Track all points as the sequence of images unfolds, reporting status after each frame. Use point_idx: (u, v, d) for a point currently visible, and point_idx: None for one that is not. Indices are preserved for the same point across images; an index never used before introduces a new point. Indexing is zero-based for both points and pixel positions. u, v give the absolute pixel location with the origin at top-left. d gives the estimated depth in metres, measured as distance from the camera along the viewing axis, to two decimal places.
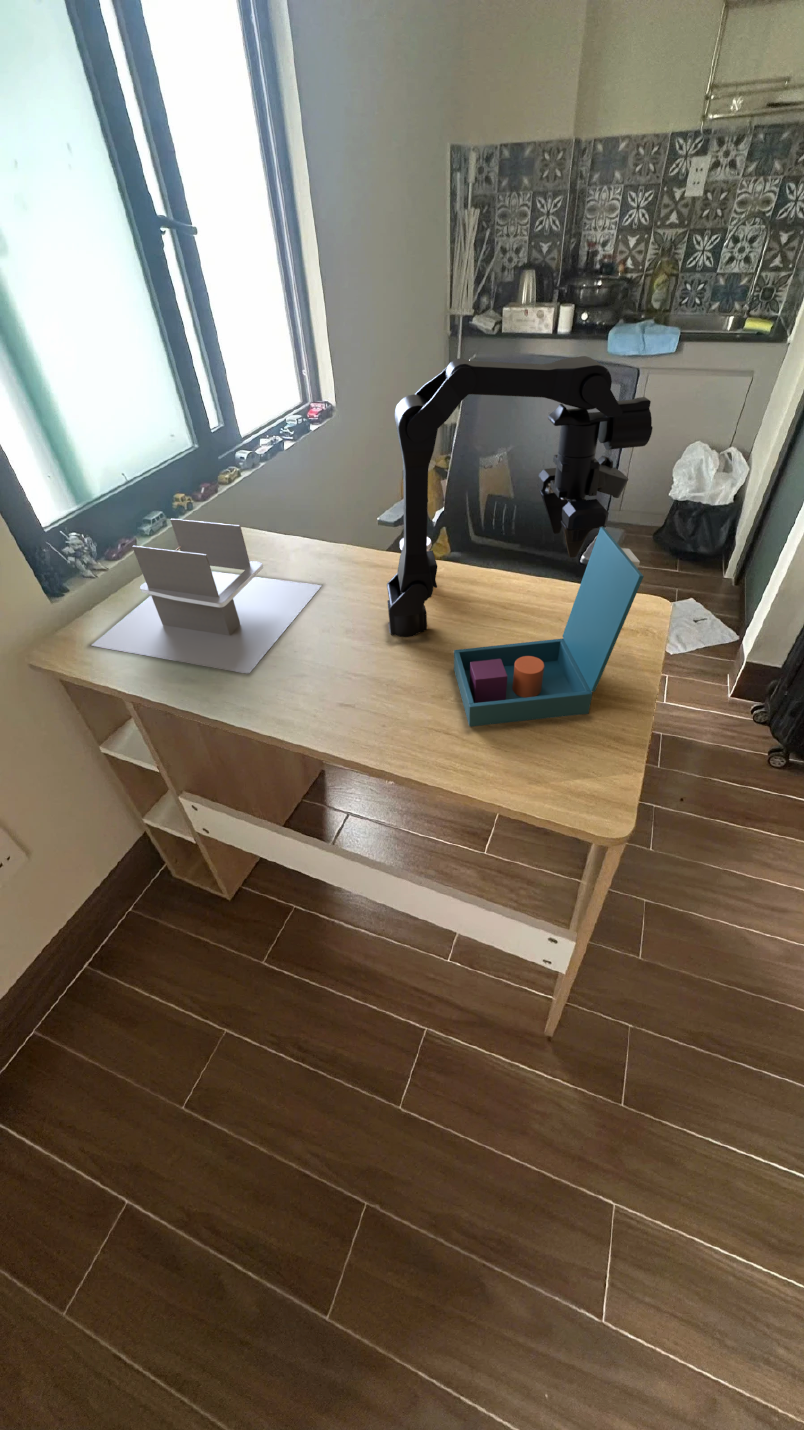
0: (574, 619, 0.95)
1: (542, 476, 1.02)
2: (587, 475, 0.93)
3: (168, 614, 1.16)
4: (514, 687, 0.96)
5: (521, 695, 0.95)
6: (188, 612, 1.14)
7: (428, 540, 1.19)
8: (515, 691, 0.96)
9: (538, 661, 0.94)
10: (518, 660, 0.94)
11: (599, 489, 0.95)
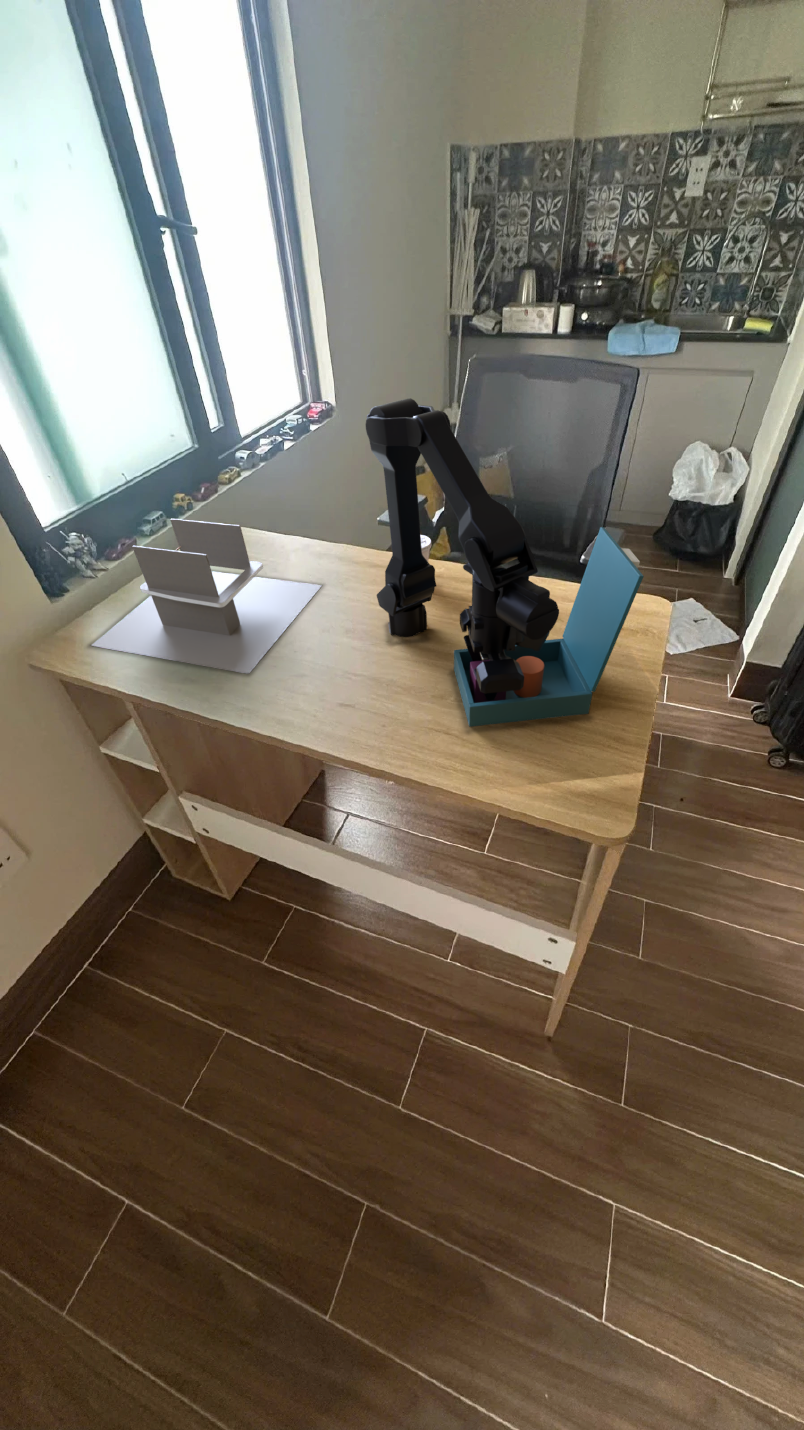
0: (574, 619, 0.95)
1: (463, 617, 0.95)
2: (503, 631, 0.86)
3: (168, 614, 1.16)
4: None
5: (521, 695, 0.95)
6: (188, 612, 1.14)
7: (428, 540, 1.19)
8: (515, 691, 0.96)
9: (538, 661, 0.94)
10: (518, 660, 0.94)
11: (518, 643, 0.88)
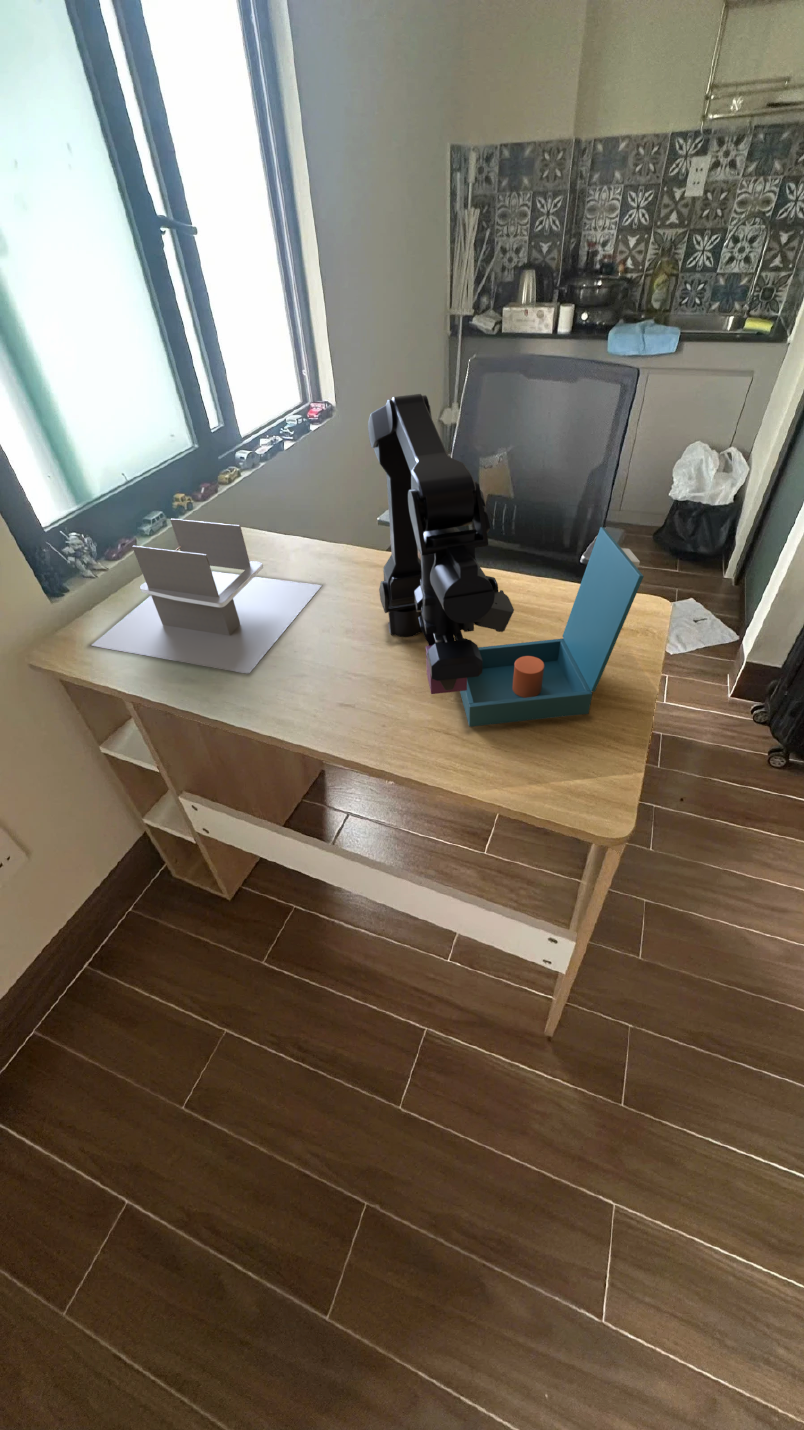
0: (574, 619, 0.95)
1: (417, 595, 0.82)
2: None
3: (168, 614, 1.16)
4: (514, 687, 0.96)
5: (521, 695, 0.95)
6: (188, 612, 1.14)
7: None
8: (515, 691, 0.96)
9: (538, 661, 0.94)
10: (518, 660, 0.94)
11: (477, 623, 0.75)
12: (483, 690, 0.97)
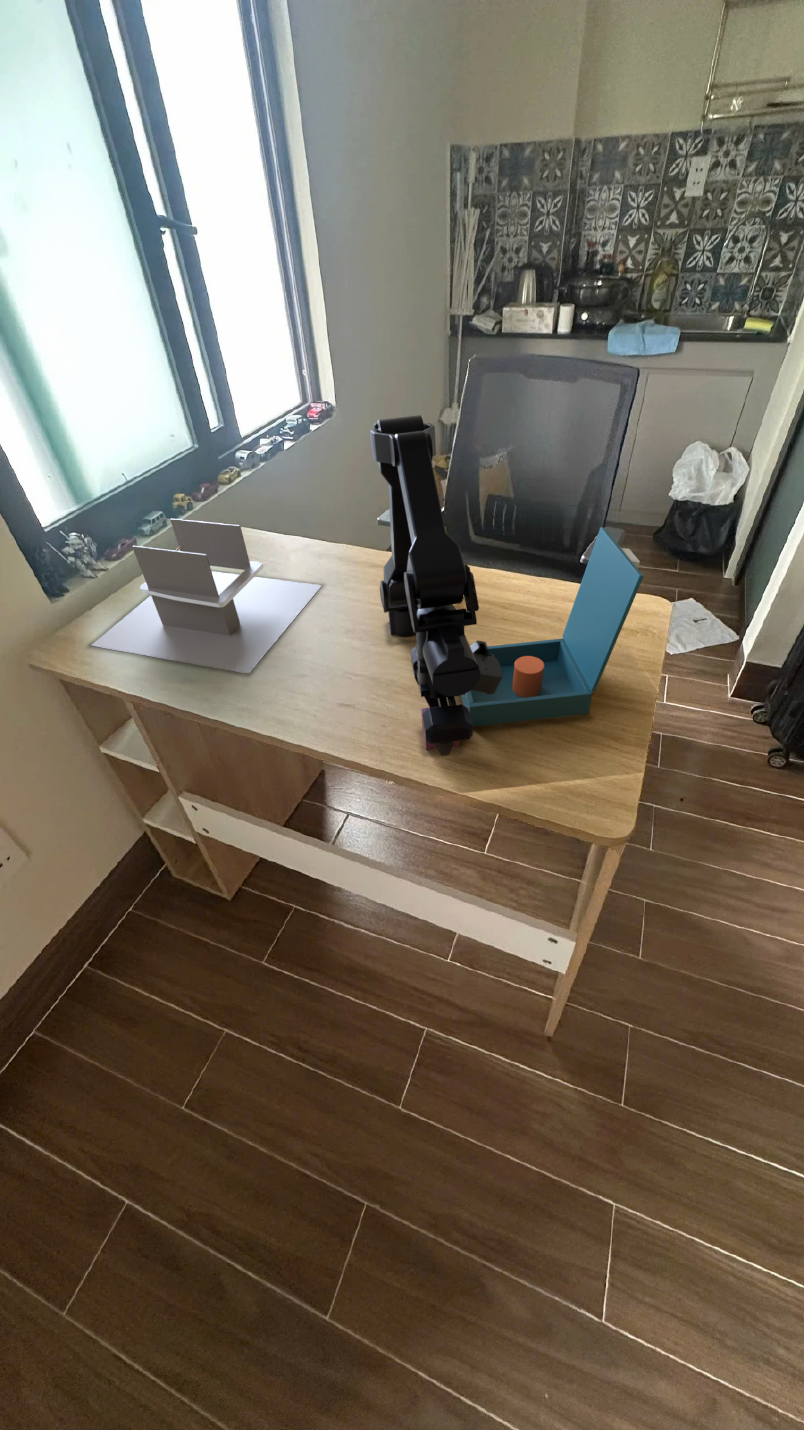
0: (574, 619, 0.95)
1: (413, 655, 0.88)
2: None
3: (168, 614, 1.16)
4: (514, 687, 0.96)
5: (521, 695, 0.95)
6: (188, 612, 1.14)
7: None
8: (515, 691, 0.96)
9: (538, 661, 0.94)
10: (518, 660, 0.94)
11: None
12: None
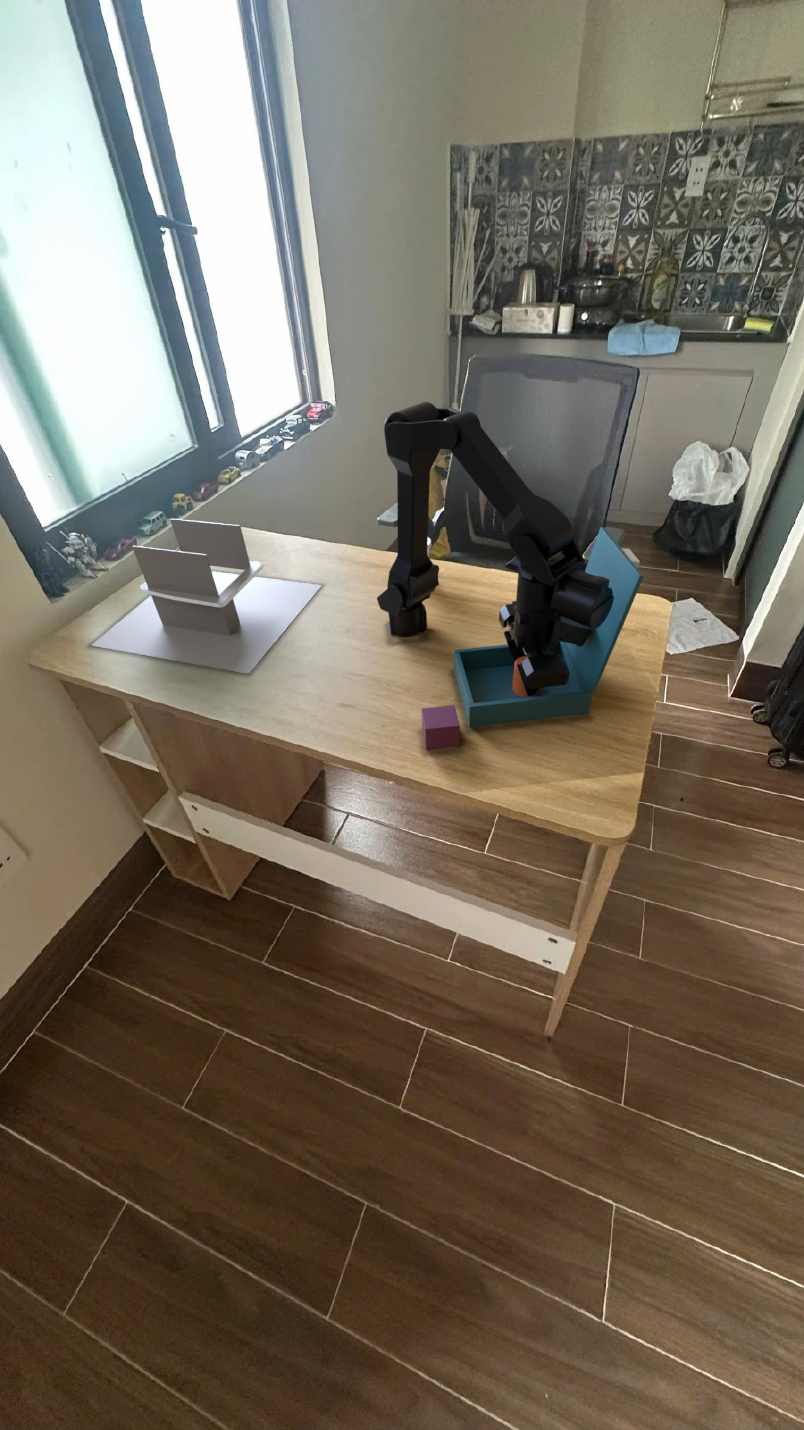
0: None
1: (503, 613, 0.95)
2: (548, 627, 0.86)
3: (168, 614, 1.16)
4: (514, 687, 0.96)
5: (521, 695, 0.95)
6: (188, 612, 1.14)
7: (428, 540, 1.19)
8: (515, 691, 0.96)
9: None
10: (518, 660, 0.94)
11: (561, 639, 0.88)
12: (483, 690, 0.97)
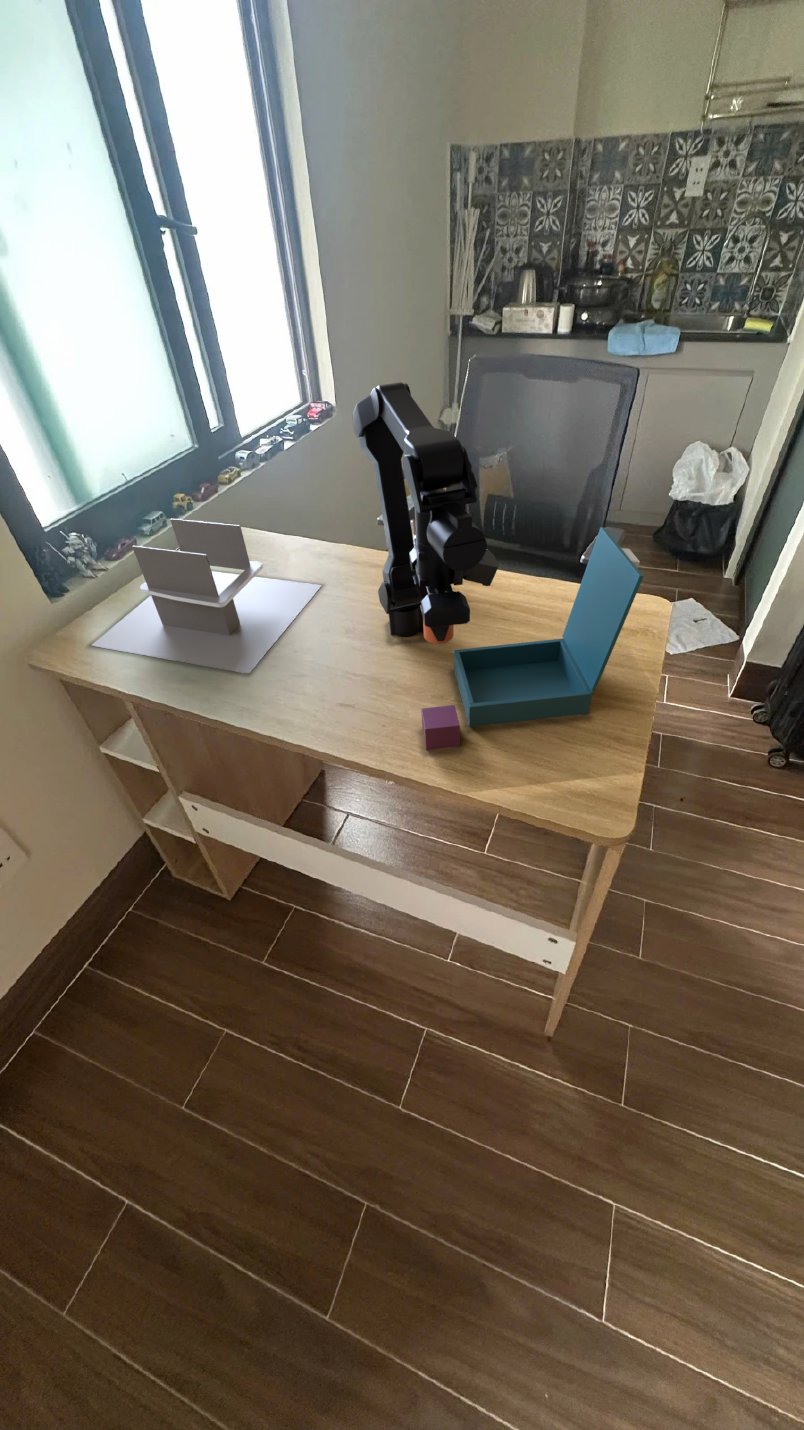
0: (574, 619, 0.95)
1: (412, 555, 0.91)
2: None
3: (168, 614, 1.16)
4: (424, 633, 0.91)
5: (431, 641, 0.91)
6: (188, 612, 1.14)
7: None
8: (425, 637, 0.91)
9: None
10: None
11: (466, 577, 0.84)
12: (483, 690, 0.97)
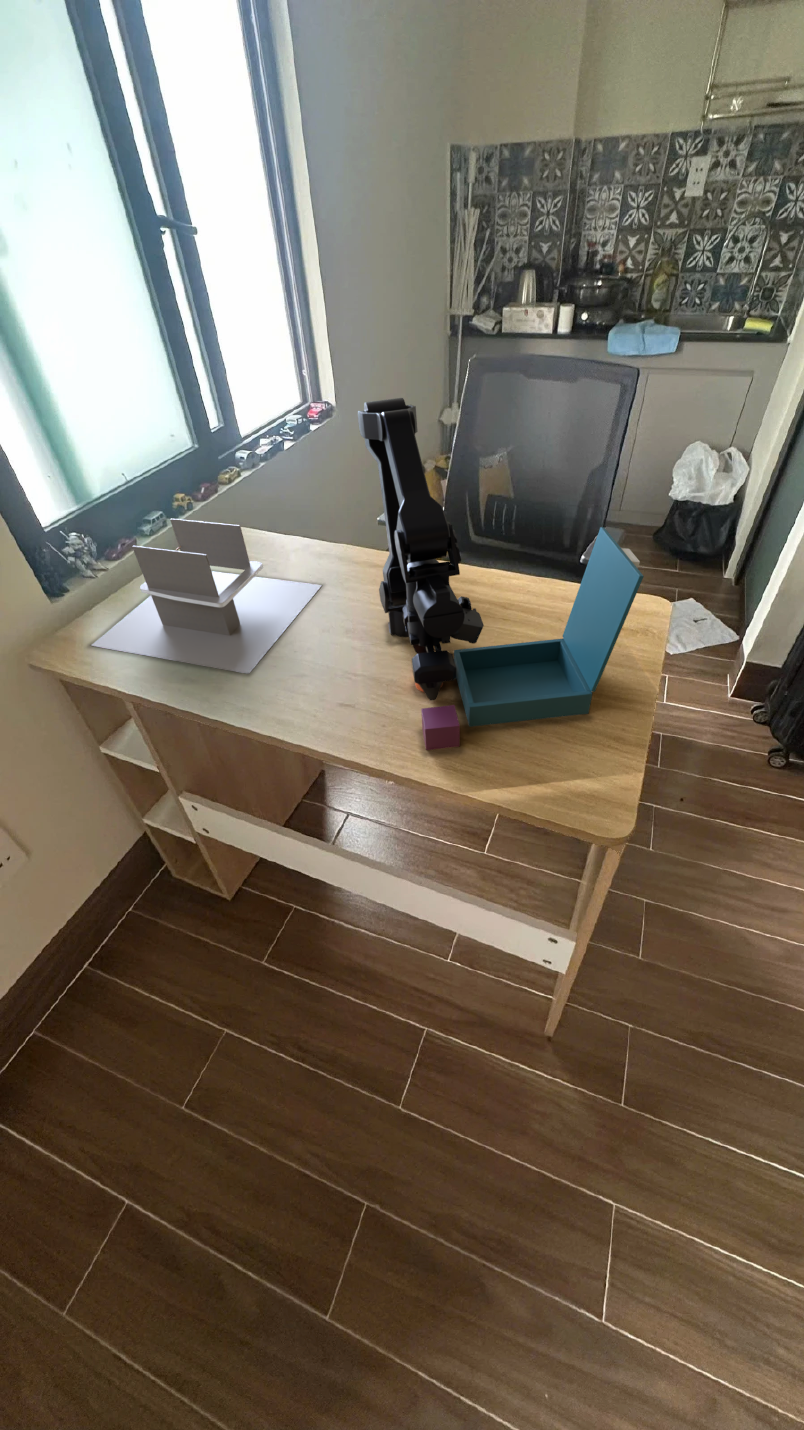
0: (574, 619, 0.95)
1: (404, 611, 0.98)
2: None
3: (168, 614, 1.16)
4: (416, 685, 0.99)
5: None
6: (188, 612, 1.14)
7: None
8: None
9: None
10: None
11: (453, 636, 0.90)
12: (483, 690, 0.97)
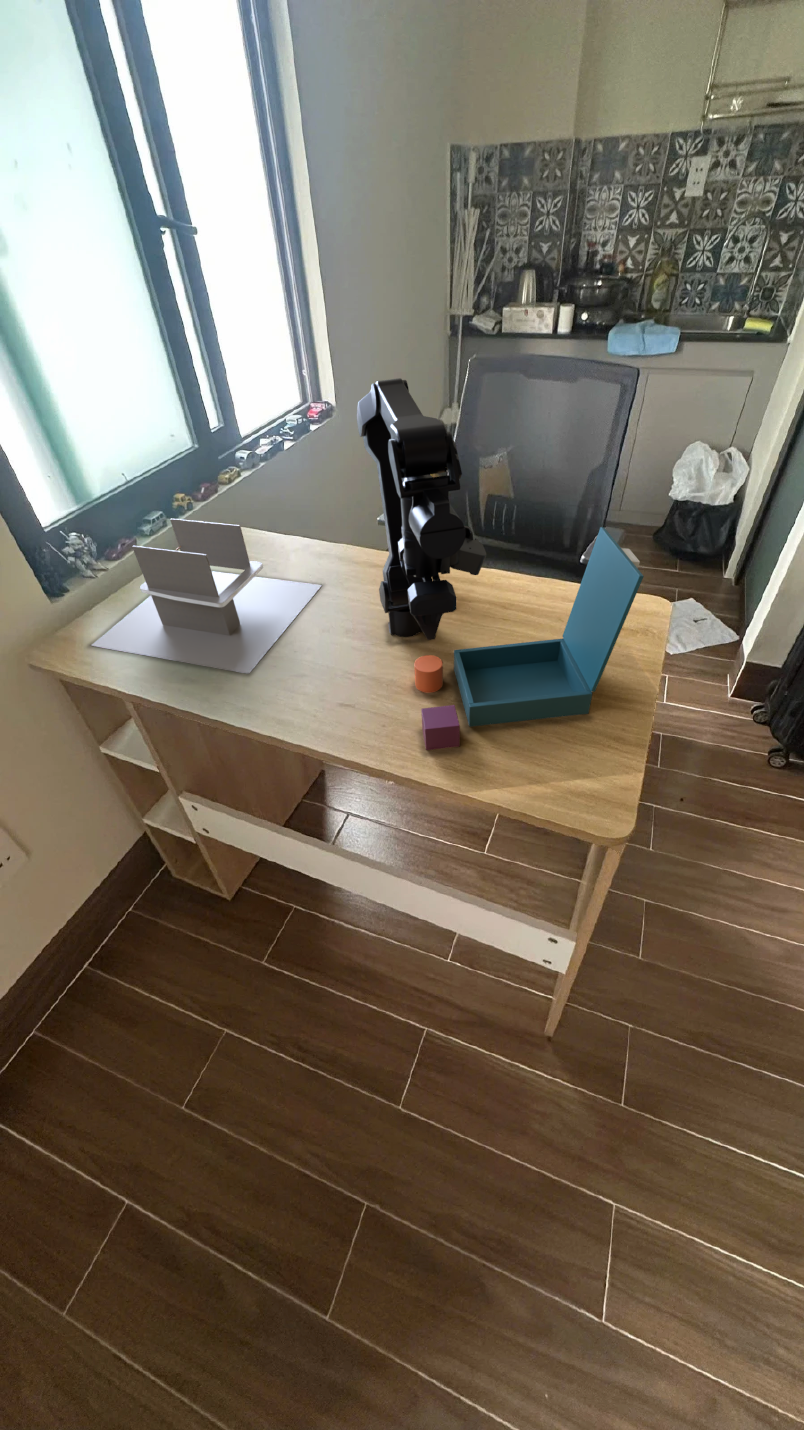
0: (574, 619, 0.95)
1: (400, 545, 0.90)
2: None
3: (168, 614, 1.16)
4: (416, 685, 0.99)
5: None
6: (188, 612, 1.14)
7: None
8: None
9: (437, 660, 0.97)
10: (418, 659, 0.97)
11: (453, 566, 0.83)
12: (483, 690, 0.97)
